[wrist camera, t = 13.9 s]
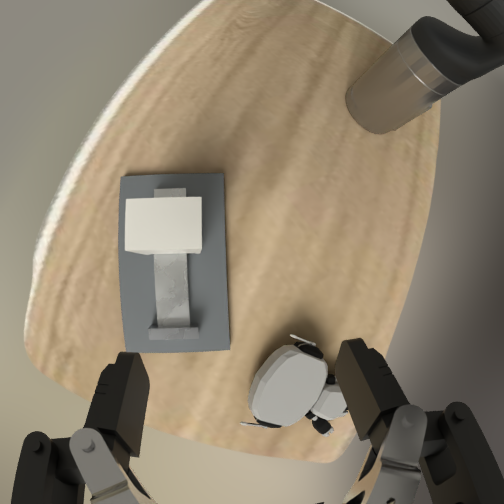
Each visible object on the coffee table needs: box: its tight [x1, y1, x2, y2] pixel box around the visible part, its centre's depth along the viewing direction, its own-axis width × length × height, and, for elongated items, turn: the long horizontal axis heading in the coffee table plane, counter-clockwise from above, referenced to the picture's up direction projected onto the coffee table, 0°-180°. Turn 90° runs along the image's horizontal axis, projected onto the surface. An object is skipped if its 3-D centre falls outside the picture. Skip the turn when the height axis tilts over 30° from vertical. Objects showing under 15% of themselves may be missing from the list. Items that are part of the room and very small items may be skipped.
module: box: [125, 197, 202, 255], centre depth 25 cm, size 6×4×9 cm
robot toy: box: [240, 334, 348, 437], centre depth 31 cm, size 12×4×15 cm
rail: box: [148, 188, 199, 340], centre depth 28 cm, size 5×16×2 cm, turn 2°
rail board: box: [118, 173, 230, 353], centre depth 30 cm, size 12×20×1 cm, turn 2°
